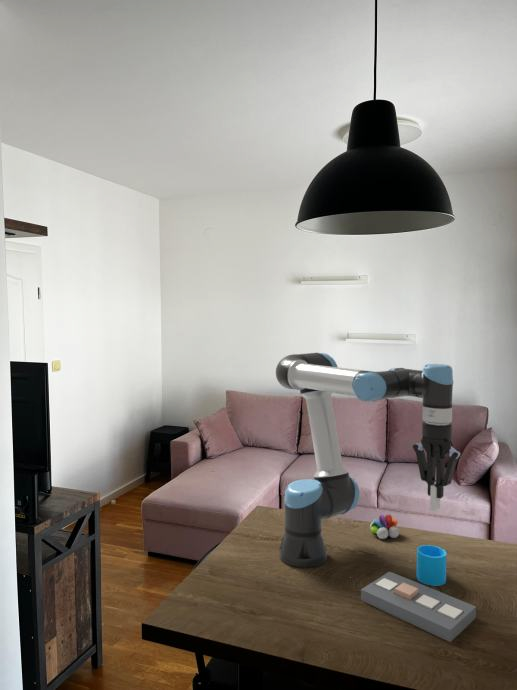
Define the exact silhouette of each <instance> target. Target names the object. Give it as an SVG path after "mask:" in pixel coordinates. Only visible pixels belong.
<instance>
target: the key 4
mask: <svg viewBox="0 0 517 690" xmlns="http://www.w3.org/2000/svg"><path fill="white" fill-rule="evenodd" d="M437 613H439V614H442V615H444V616H446V617H449V618H451V619H453V620H456V619H457V618H458V617H459V616H460V615H462V614H463V611H462V610H459V609H457V608H455V607H452V606H450V605H448V604H445V605H444V606H442V607H441V608H440V609H439V610H438V611H437Z"/></svg>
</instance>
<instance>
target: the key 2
mask: <svg viewBox="0 0 517 690" xmlns="http://www.w3.org/2000/svg"><path fill="white" fill-rule="evenodd" d="M395 594H396V595H398V596H401V597H403V598H405V599H407V600H412V599H413V598H414V597H416V596H417V595H418V588H416V587H413V586H411V585H408V584H406V583H402V584H401V585H399V586H398V587H396V588H395Z"/></svg>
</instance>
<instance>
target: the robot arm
mask: <svg viewBox="0 0 517 690" xmlns="http://www.w3.org/2000/svg"><path fill="white" fill-rule="evenodd" d="M453 375H454V374H453V368H452V367H451V365H449V364H445V363H444V364H443V363H442V364H439V363H427V364H424V365H423V368H422V370H418V369H412V368H411V369H410V368H404V367H392V368H390V369H388V370H384V371H383V370H382V371H372V370H363V369H357V368H356V369H355V368H348V367H347V368H345V367H339V366H338V365H337V362H336V360H335V359H334V357H332V356H330V355H329V354H328V353H325V352H310V353H300V354H295V353H293V354H289V355H287V356H283V358H281V359H280V360H279V362H278V363H277V365H276V368H275V377H276V378H275V379H276V380H277V382H278V383H279V384H280V386H281V387H283V388H285V389H288V390H294V391H295V390H296V391H299V392H300V396H302V397H303V399H305V402H306V409H307V413H308V414H307V415H308V420H309V426H310V433H311V440H312V444H313V445H312V447H313V451H314V457H315V463H316V471H315V473H314V474H313V479H312V478H305V479H304V478H303V479H297V480H295V481H293V482H290V483H289V484H288V485H287V486H286V488H285V491H284V492H285V493H284V532H283V533H284V534H283V537H282V539H281V543H280V546H279V555H278V557H279V559H280V560H281V561H282V562H283V563H284V564H287V565H289V566H292V567H295V568H296V567H297V568H313V567H318V566H321V565H323V564H324V563H326V561H327V559H328V549H327V546H326V544H325V540H324V536H323V531H322V530H323V529H322V527H323V524H322V523H323V521H325V520H328V519H330V518H334V517H337V516H339V515H345V514H346V513H348V512H351V511H353V510H354V509H355V508H356V506H357V505H358V503H359V501H360V489H359V485H358V482H357V481H355V479H354V478H353V476H351V475H350V474H349V470H348V469H347V468H345V467H344V465H343V461H342V460H343V459H342V453H341V447H340V442H339V437H338V435H339V434H338V430H337V423H336V417H335V413H334V406H333V400H332V395H333V393H334V394H338V395H339V394H340V395H346V396H351V397H356V398H357V399H359V400H360V401H362V402H376V401H380V400H381V401H382V400H387V399H395V398H400V397H413V398H420V399H422V419H421V420H423V422H421V423H422V424H421V435H422V438H421V439H420V442H418V443H415V444H413V445H412V448H413V450H414V453H415V456H416V461H417V466H418V470H419V476H420V479H421V481H422V482H425V483H426V484H427V495H428V496H429V498H430V499H429V500H430V501H429V502H430V504H429V505H430V506H429V509H430V510H432V511H437V510H439V509H441V499H442V498H443V497H444V490H445V489H444V487H446V486H448V485H451V484H452V480H453V477H454V472H455V470H456V465H457V462H458V460H459V458H460V456H461V455H462V452H461V451H460V450H456V449H455V448H454V447H453V446H454V445H453V443H452V436H453V425H452V424H451V423H452V421H453V390H454V388H453V387H454V377H453ZM448 454H449V455H448ZM447 455H448V456H449V459H448V461H447V464H446V460H447Z"/></svg>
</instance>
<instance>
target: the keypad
mask: <svg viewBox="0 0 517 690" xmlns="http://www.w3.org/2000/svg"><path fill="white" fill-rule="evenodd" d="M383 578H385V579H388V580H390V581H393V582H395V583H397V584H398V586H399V585H401V584H402V583H406V584H408V585H411V586H413V587H416V588H418V595H417V596H416V597H414V598H413V599H412V600H407V599H405V598H403V597H401V596H398V595H396V594H395V589H393V590H392V591H390V592H389V591H387V590H385V589H382V588H380V587H378V586H375V584H376V583H377V582H379V581H380V580H382V579H383ZM423 595H426V596H428V597H431V598H433V599H436V600H438V601H440V604H439V605H438V606H436V607H435V608H434V609H433V610H430V609H428V608H426V607H423V606H421V605H419V604H417V603H415V601H416V600H417V599H419V598H420V597H421V596H423ZM360 601H361V602H364V603H366V604H368V605H370V606H372V607H374V608H377V609H378V610H381V611H383V612H385V613H386V614H390V615H391V616H393V617H396V618H397V619H400V620H402V621H404V622H406V623H407V624H411V625H412V626H415V627H416V628H419V629H422V630H423V631H425V632H428V633H429V634H432V635H434V636H436V637H438V638H440V639H442V640H444V641H446V642H449V643H452V641H453V640H455V638H457V636H458V635H459V634H461V633H462V632H463V631H464V630H465V629H466V628H467V627H468V626H469V625H470V624H471V623H472V622H473V621H475V620H476V618H477V606H476V605H473V604H470V603H468V602H466V601H463V600H461V599H458V598H456V597H453V596H450V595H448V594H445V593H443V592H441V591H439V590H436V589H434V588H431V587H429V586H427V585H425V584H423V583H422V584H421V583H419V582H417V581H414V580H411V579H409V578H407V577H404V576H401V575H400V574H396V573H394V572H392V571H388V572H386V573H385V574H383V575H381V576H380V577H378V578H377V579H375V580H374V581H372V582H370V583H369V584H368V585H366V586H364V587H363V588H361V589H360ZM445 604H448V605H450V606H452V607H455V608H457V609H459V610H462V611H463V614H462V615H460V616H459V617H458V618H457V619H456V620H453V619H451V618H449V617H446V616H444V615H442V614H439V613H437V611H438V610H439V609H440V608H441V607H442V606H444V605H445Z"/></svg>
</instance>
